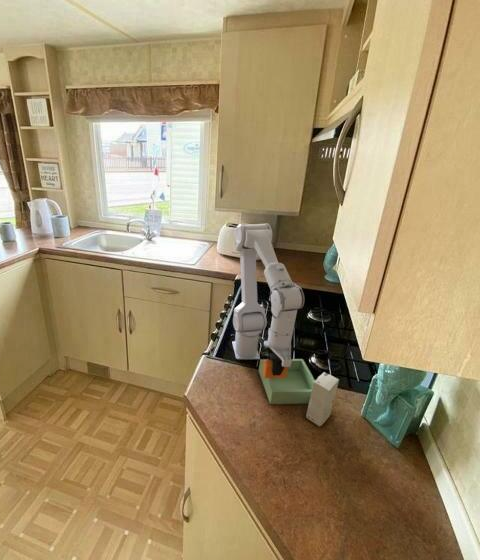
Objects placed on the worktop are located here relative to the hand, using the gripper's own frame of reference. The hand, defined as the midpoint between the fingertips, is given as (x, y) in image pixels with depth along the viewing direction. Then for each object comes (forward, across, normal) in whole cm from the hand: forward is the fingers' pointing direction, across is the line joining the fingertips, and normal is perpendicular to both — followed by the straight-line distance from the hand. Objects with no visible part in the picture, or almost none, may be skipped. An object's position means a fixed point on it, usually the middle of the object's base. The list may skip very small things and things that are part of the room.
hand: (274, 369), depth 87 cm
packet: (+2, 0, 0) cm, 2 cm away
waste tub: (+8, -2, +5) cm, 10 cm away
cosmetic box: (+9, +8, +10) cm, 16 cm away
